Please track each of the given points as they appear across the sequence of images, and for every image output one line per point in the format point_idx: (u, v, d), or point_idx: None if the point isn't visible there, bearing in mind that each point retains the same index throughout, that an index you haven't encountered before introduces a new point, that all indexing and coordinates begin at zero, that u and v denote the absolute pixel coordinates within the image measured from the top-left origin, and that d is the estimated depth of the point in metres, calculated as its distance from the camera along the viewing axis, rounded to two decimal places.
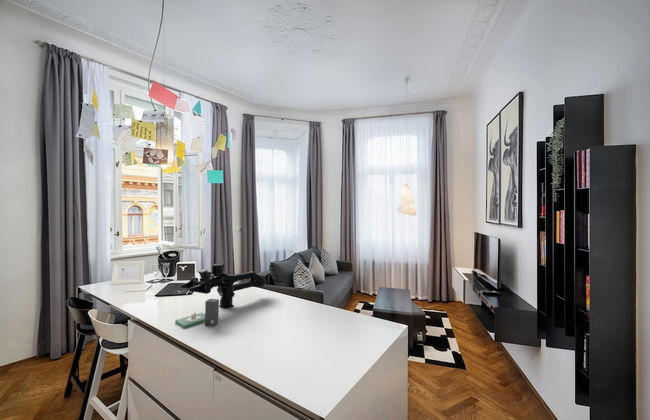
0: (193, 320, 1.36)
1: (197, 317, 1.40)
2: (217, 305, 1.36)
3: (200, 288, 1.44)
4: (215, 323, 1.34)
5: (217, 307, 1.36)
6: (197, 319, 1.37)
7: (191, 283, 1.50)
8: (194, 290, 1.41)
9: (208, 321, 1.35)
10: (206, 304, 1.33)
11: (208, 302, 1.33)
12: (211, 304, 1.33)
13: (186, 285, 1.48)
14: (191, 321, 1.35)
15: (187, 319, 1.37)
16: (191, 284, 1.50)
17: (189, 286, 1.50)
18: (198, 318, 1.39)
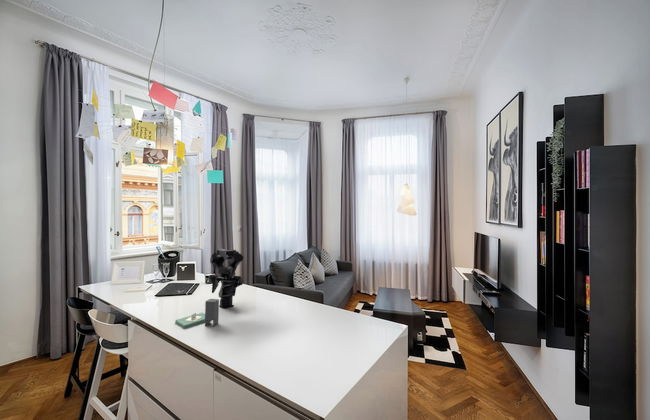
0: (193, 320, 1.36)
1: (197, 317, 1.40)
2: (217, 305, 1.36)
3: (234, 284, 1.47)
4: (215, 323, 1.34)
5: (217, 307, 1.36)
6: (197, 319, 1.37)
7: (215, 282, 1.48)
8: (231, 290, 1.45)
9: (208, 321, 1.35)
10: (206, 304, 1.33)
11: (208, 302, 1.33)
12: (211, 304, 1.33)
13: (214, 287, 1.46)
14: (191, 321, 1.35)
15: (187, 319, 1.37)
16: (216, 283, 1.48)
17: (216, 286, 1.48)
18: (198, 318, 1.39)
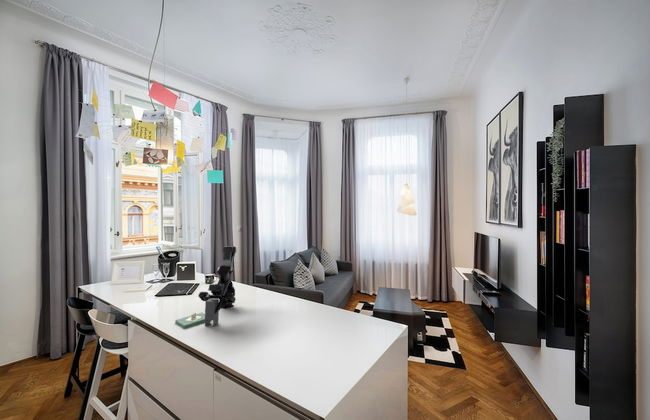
0: (193, 320, 1.36)
1: (197, 317, 1.40)
2: None
3: (222, 303, 1.38)
4: (215, 323, 1.34)
5: None
6: (197, 319, 1.37)
7: None
8: (219, 309, 1.36)
9: (208, 321, 1.35)
10: (206, 304, 1.33)
11: (208, 302, 1.33)
12: (211, 304, 1.33)
13: None
14: (191, 321, 1.35)
15: (187, 319, 1.37)
16: None
17: None
18: (198, 318, 1.39)
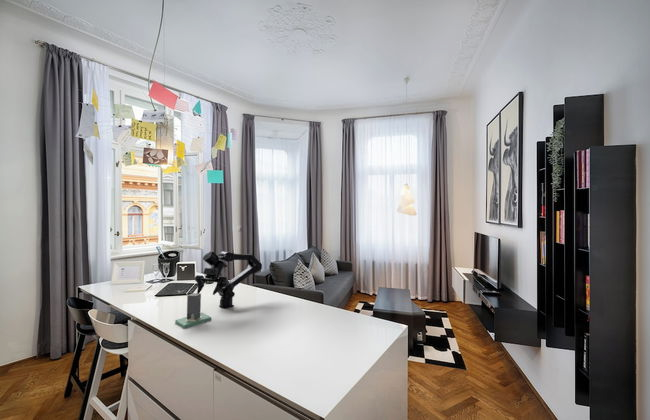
0: (193, 320, 1.36)
1: None
2: (199, 299, 1.39)
3: (219, 285, 1.49)
4: (197, 317, 1.38)
5: (199, 302, 1.39)
6: (197, 319, 1.37)
7: (201, 283, 1.50)
8: (217, 291, 1.47)
9: (190, 315, 1.39)
10: (188, 298, 1.37)
11: (190, 296, 1.37)
12: (193, 298, 1.37)
13: (200, 288, 1.48)
14: (191, 321, 1.35)
15: None
16: (201, 284, 1.50)
17: (201, 286, 1.50)
18: (198, 318, 1.39)
